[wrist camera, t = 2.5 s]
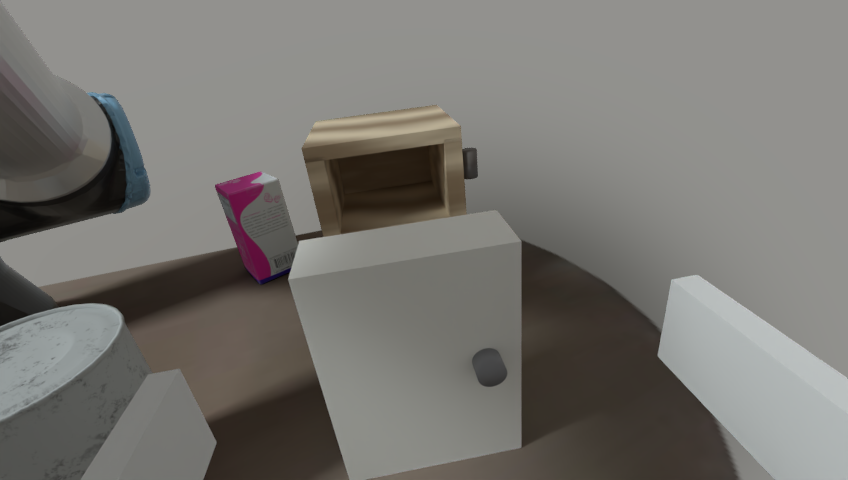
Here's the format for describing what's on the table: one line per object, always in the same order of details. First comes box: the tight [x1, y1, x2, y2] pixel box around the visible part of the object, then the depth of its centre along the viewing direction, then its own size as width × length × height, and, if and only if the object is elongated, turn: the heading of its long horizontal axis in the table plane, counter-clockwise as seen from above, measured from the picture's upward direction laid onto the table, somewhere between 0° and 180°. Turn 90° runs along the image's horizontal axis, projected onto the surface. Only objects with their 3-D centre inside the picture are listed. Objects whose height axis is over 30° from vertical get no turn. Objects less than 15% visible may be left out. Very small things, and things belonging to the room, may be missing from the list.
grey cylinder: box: [0, 303, 153, 480], centre depth 23 cm, size 10×10×12 cm
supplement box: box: [215, 171, 298, 285], centre depth 49 cm, size 6×6×12 cm
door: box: [288, 210, 521, 480], centre depth 24 cm, size 5×11×15 cm, turn 98°
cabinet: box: [302, 105, 478, 237], centre depth 39 cm, size 21×14×17 cm
